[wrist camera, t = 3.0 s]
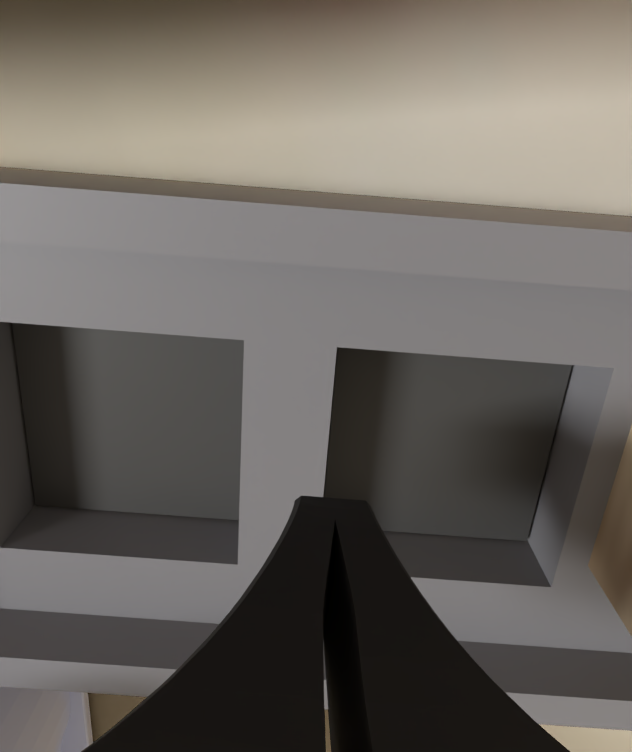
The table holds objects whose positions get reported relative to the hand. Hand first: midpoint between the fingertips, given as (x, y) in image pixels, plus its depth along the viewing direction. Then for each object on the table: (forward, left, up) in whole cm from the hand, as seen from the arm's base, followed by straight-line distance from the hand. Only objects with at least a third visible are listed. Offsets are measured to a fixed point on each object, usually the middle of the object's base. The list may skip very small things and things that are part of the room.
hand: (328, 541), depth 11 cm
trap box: (0, -5, -5) cm, 7 cm away
